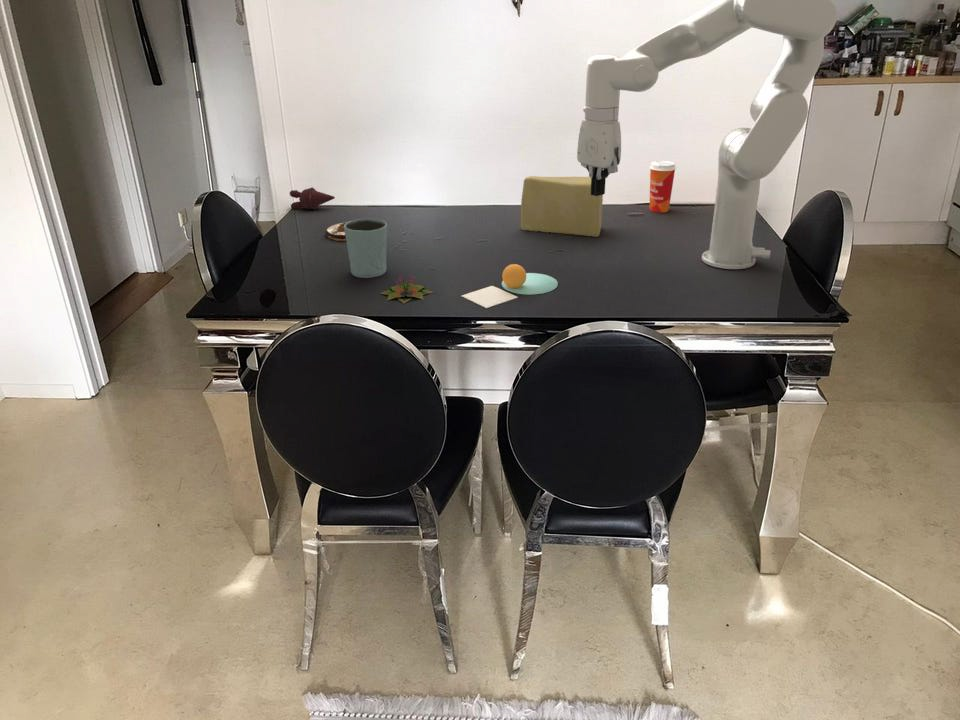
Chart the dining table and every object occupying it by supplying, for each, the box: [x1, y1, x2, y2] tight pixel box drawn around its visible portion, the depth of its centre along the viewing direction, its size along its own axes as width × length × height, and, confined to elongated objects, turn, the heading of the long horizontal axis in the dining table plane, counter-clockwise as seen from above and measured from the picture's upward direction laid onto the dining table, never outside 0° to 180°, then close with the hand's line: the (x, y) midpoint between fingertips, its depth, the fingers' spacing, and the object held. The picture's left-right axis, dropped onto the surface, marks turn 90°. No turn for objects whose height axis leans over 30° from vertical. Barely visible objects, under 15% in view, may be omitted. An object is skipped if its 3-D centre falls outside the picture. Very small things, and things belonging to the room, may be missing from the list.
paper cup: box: [649, 160, 677, 214], centre depth 220 cm, size 8×8×14 cm
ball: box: [501, 263, 527, 288], centre depth 170 cm, size 6×6×6 cm
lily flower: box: [379, 274, 435, 304], centre depth 169 cm, size 12×12×5 cm
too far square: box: [461, 285, 519, 309], centre depth 167 cm, size 9×9×1 cm
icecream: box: [289, 186, 335, 211], centre depth 232 cm, size 7×7×15 cm
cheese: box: [520, 175, 604, 238], centre depth 205 cm, size 22×10×15 cm, turn 78°
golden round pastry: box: [325, 220, 350, 242], centre depth 209 cm, size 15×15×4 cm
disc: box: [501, 272, 559, 296], centre depth 173 cm, size 13×13×1 cm
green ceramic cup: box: [344, 218, 388, 279], centre depth 180 cm, size 10×10×12 cm
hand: (597, 194), depth 177 cm, fingers closed
